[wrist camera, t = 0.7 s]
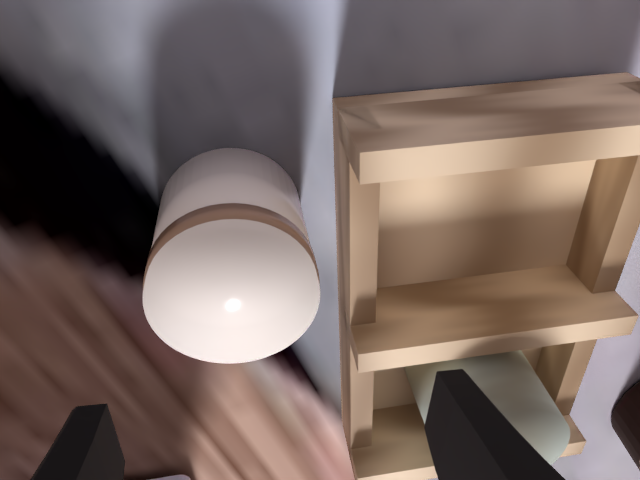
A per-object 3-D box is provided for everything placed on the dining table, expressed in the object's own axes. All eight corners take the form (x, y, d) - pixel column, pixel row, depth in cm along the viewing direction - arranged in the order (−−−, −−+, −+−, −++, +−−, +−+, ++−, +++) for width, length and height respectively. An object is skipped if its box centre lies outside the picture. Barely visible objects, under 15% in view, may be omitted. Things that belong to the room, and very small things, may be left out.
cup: (174, 271, 21) (161, 375, 17) (145, 151, 18) (119, 238, 14) (303, 256, 22) (324, 352, 17) (296, 137, 19) (318, 217, 14)
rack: (339, 410, 28) (367, 534, 23) (332, 97, 18) (376, 187, 13) (535, 381, 29) (605, 493, 24) (626, 72, 19) (779, 144, 14)
